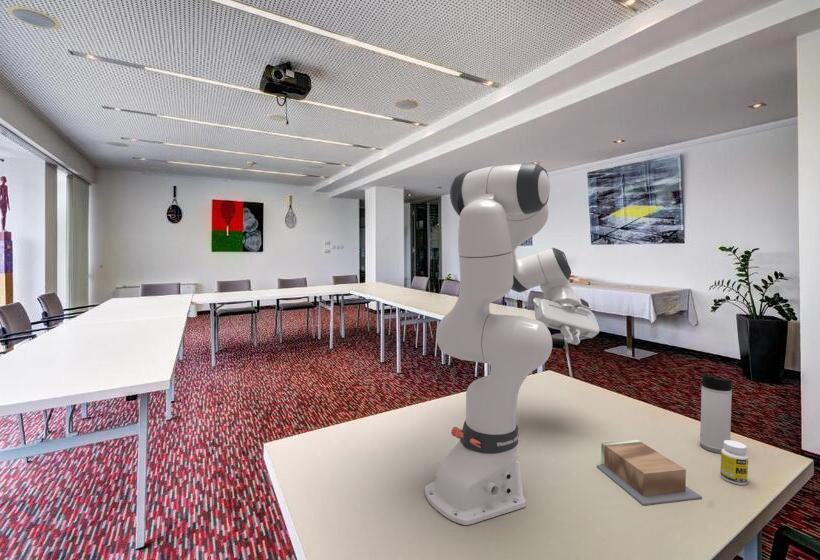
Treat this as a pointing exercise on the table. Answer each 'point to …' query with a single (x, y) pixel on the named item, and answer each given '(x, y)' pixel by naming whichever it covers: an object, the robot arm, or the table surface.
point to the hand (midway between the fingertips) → (574, 342)
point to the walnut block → (643, 467)
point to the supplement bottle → (734, 462)
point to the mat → (650, 500)
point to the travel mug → (715, 412)
